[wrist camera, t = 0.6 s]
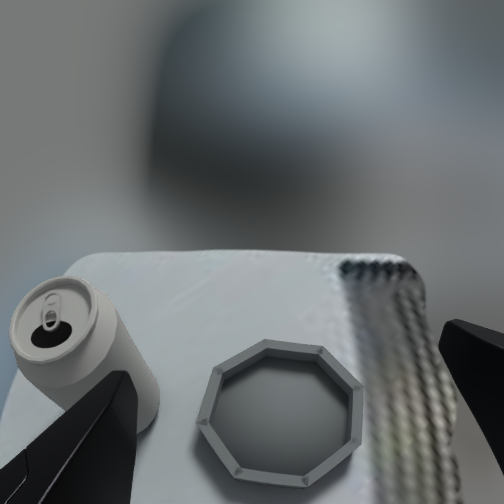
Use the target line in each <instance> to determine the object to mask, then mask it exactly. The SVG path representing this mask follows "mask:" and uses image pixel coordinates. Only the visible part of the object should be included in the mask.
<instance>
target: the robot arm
mask: <svg viewBox="0 0 504 504" xmlns="http://www.w3.org/2000/svg"><path fill="white" fill-rule="evenodd" d="M438 347H439V351H440V353H441V355H442V357H443V359H444V361H445V363H446V365H447V367H448V369H449V371H450V373H451V375H452V377H453V379H454V381H455V384H456V385H457V387H458V389H459V391H460V393H461V395H462V396H463V398H464V400H465V401H466V403H467V405H468V407H469V408H470V410H471V412H472V414H473V415H474V417H475V419H476V421H477V423H478V425H479V426H480V428H481V430H482V432H483V434H484V436H485V438H486V440H487V442H488V443H489V446H490V447H491V449H492V452H493V454H494V456H495V458H496V460H497V462H498V464H499V466H500V468H501V471H502V473H503V475H504V334H503V333H500V332H497V331H494V330H491V329H488V328H484V327H481V326H478V325H475V324H472V323H469V322H466V321H462V320H459V319H453V320H450V321H447V322H446V323H445V325H444V327H443V331H442V334H441V337H440V341H439V345H438ZM137 416H138V394H137V391H136V389H135V386H134V384H133V381H132V379H131V376H130V374H129V373H128V371H126V370H113V371H111V372H110V373H109V374H107V375H106V376H105V377H104V378H103V379H102V380H101V381H100V382H99V383H97V384H96V385H95V386H94V387H93V388H92V389H91V390H90V391H88V392H87V393H86V394H85V395H84V396H83V397H82V398H81V399H79V400H78V401H77V402H76V403H75V404H74V405H73V406H72V407H70V408H69V409H68V410H67V411H66V412H65V413H64V414H63V415H62V416H60V417H59V418H58V419H57V420H56V421H55V422H54V423H53V424H51V425H50V426H49V427H48V428H47V429H46V430H45V431H44V432H43V433H41V434H40V435H39V436H38V437H37V438H36V439H35V440H34V441H33V442H31V443H30V444H29V445H28V446H27V447H26V449H23V450H22V451H21V452H20V453H19V454H18V455H17V456H16V457H15V458H13V459H12V460H11V461H10V462H9V463H8V464H6V465H5V466H4V467H3V468H2V469H0V504H130V499H131V489H132V481H133V472H134V465H135V457H136V446H137Z"/></svg>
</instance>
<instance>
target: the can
mask: <svg viewBox="0 0 504 504" xmlns="http://www.w3.org/2000/svg"><path fill="white" fill-rule="evenodd" d="M9 338H10V343H11V347H12V348H13V350H14V354H15V358H16V361H17V365H18V368H19V369H20V371H21V372H22V373H23V375H24V376H25V377H26V379H27V380H28V381H30V382H31V383H32V384H33V385H34V386H35V387H36V388H38V389H39V390H40V391H41V392H42V393H43V394H45V395H46V396H47V397H48V398H50V399H51V400H52V401H53V402H55V403H56V404H57V405H58V406H60V407H61V408H62V409H64V410H65V411H67V410H68V409H69V408H70V407H72V406H73V405H74V404H75V403H76V402H77V401H78V400H79V399H81V398H82V397H83V396H84V395H85V394H86V393H87V392H88V391H90V390H91V389H92V388H93V387H94V386H95V385H96V384H97V383H99V382H100V381H101V380H102V379H103V378H104V377H105V376H106V375H107V374H109V373H110V372H111V371H113V370H126V371H128V373H129V374H130V376H131V379H132V381H133V384H134V386H135V389H136V391H137V394H138V416H137V434H138V433H140V432H141V431H143V430H144V429H146V428H147V427H148V425H149V424H150V423H151V422H152V420H153V419H154V418H155V416H156V413H157V410H158V408H159V405H160V390H159V387H158V384H157V381H156V378H155V377H154V375H153V374H152V372H151V370H150V369H149V367H148V365H147V364H146V362H145V360H144V359H143V357H142V355H141V354H140V352H139V350H138V349H137V347H136V345H135V343H134V342H133V340H132V338H131V336H130V335H129V333H128V331H127V329H126V327H125V325H124V324H123V322H122V320H121V318H120V316H119V314H118V312H117V310H116V308H115V306H114V305H113V303H112V302H111V300H110V299H109V297H108V296H107V295H106V294H105V293H103V292H102V291H100V290H99V289H97V288H95V287H92V285H91V284H90V283H88V282H87V281H85V280H84V279H82V278H79V277H75V276H60V277H56V278H53V279H50V280H47V281H44V282H43V283H41V284H39V285H38V286H36V287H35V288H33V289H32V290H31V291H30V292H29V293H28V294H27V295H26V296H25V297H24V298H23V299H22V300H21V302H20V303H19V305H18V306H17V307H16V309H15V311H14V314H13V316H12V319H11V322H10V329H9Z"/></svg>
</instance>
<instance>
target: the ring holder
mask: <svg viewBox="0 0 504 504" xmlns="http://www.w3.org/2000/svg"><path fill="white" fill-rule="evenodd" d="M362 420H363V385H362V384H361V383H360V382H359V381H358V380H357V379H355V378H354V377H353V376H352V375H351V374H350V373H349V372H348V371H347V370H346V369H345V368H344V367H343V366H342V365H341V364H340V363H339V362H338V361H337V360H336V359H335V358H334V357H333V356H332V355H331V354H330V353H329V352H328V351H327V350H326V349H325V348H324V347H323V346H317V345H308V344H299V343H291V342H283V341H275V340H268V339H264V340H262V341H260V342H258V343H257V344H255V345H253V346H251V347H250V348H248V349H246V350H244V351H243V352H241V353H239V354H237V355H235V356H234V357H232V358H230V359H228V360H226V361H224V362H223V363H221V364H219V365H217V366H215V367H213V370H212V373H211V376H210V380H209V383H208V386H207V390H206V393H205V396H204V399H203V403H202V406H201V409H200V413H199V416H198V419H197V423H196V424H197V425H198V427H199V428H200V430H201V431H202V433H203V434H204V436H205V437H206V439H207V440H208V442H209V443H210V445H211V446H212V448H213V449H214V451H215V452H216V454H217V455H218V457H219V458H220V459H221V461H222V462H223V464H224V465H225V466H226V468H227V469H228V470H229V472H230V473H231V475H232V476H233V477H234V478H235V480H239V481H245V482H250V483H257V484H263V485H271V486H279V487H288V488H299V489H304V488H306V487H308V486H310V485H311V484H312V483H314V482H315V481H317V480H318V479H319V478H321V477H322V476H323V475H325V474H326V473H327V472H329V471H330V470H331V469H332V468H334V467H335V466H336V465H337V464H339V463H340V462H341V461H342V460H344V459H345V458H346V457H347V456H348V455H350V454H351V453H352V452H353V451H354V450H355V449H357V448H358V447H359V446H360V445H361V441H362Z"/></svg>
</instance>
